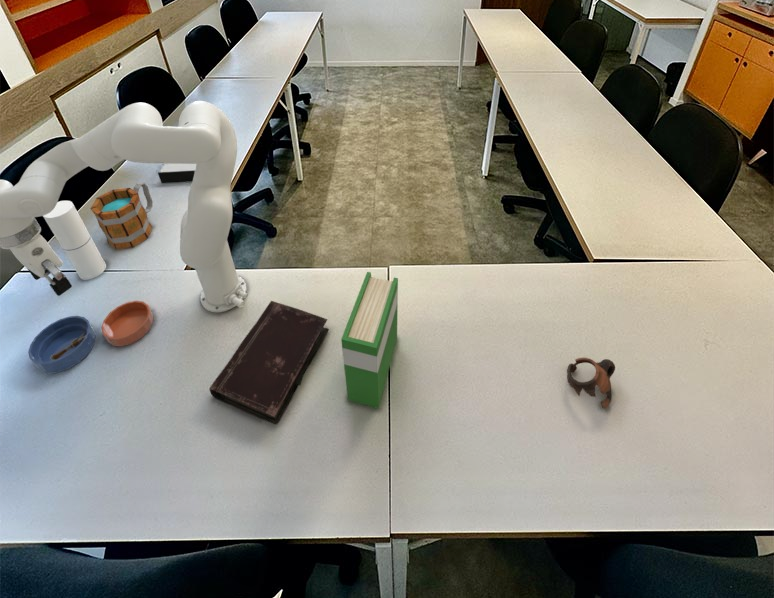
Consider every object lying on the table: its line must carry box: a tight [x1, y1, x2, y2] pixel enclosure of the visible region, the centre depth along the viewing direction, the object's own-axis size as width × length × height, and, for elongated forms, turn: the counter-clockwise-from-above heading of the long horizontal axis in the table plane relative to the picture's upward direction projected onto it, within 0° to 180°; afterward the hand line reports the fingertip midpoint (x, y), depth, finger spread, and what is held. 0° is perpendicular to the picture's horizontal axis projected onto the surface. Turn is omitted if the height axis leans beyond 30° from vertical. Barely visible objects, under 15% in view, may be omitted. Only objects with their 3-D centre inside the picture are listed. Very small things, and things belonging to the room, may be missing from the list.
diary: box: [209, 300, 330, 425], centre depth 104 cm, size 19×25×5 cm
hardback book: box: [340, 271, 399, 409], centre depth 98 cm, size 18×7×24 cm, turn 165°
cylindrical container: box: [42, 200, 107, 281], centre depth 124 cm, size 7×7×25 cm
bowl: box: [27, 315, 97, 374], centre depth 108 cm, size 13×13×4 cm
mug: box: [89, 181, 153, 250], centre depth 141 cm, size 20×14×15 cm
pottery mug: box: [566, 357, 616, 409], centre depth 100 cm, size 12×10×8 cm
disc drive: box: [157, 163, 196, 184], centre depth 175 cm, size 18×22×5 cm
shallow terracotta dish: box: [100, 300, 155, 347], centre depth 114 cm, size 11×11×3 cm
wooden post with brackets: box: [50, 334, 85, 360], centre depth 108 cm, size 2×8×4 cm
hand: (53, 283), depth 102 cm, fingers open, 9 cm apart
